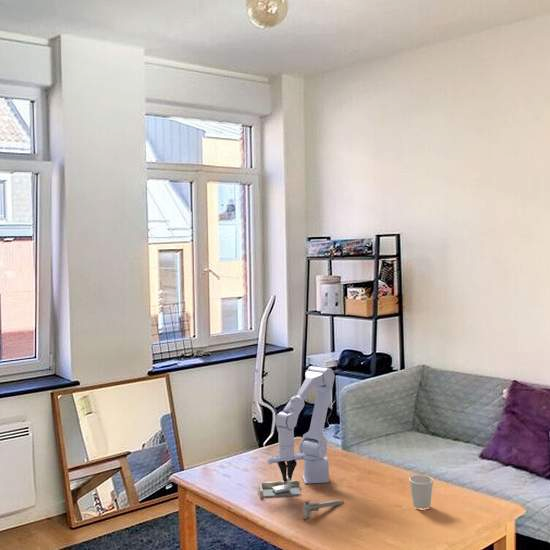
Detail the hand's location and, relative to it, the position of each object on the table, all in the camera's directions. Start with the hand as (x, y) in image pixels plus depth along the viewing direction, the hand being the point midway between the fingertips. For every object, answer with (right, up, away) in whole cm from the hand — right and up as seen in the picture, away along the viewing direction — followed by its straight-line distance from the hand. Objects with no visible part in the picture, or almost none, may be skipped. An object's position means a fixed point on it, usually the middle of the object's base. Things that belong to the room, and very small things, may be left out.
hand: (287, 480), depth 247 cm
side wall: (-10, -5, -1) cm, 11 cm away
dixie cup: (+46, -4, -17) cm, 50 cm away
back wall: (-3, -4, +4) cm, 7 cm away
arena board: (-2, -5, 0) cm, 5 cm away
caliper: (+12, -6, -18) cm, 22 cm away
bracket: (-2, -3, 0) cm, 4 cm away
